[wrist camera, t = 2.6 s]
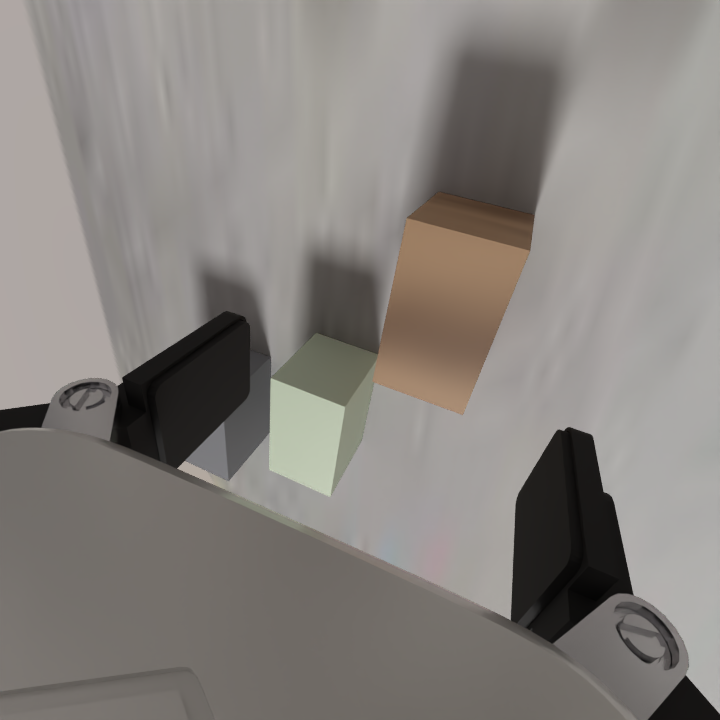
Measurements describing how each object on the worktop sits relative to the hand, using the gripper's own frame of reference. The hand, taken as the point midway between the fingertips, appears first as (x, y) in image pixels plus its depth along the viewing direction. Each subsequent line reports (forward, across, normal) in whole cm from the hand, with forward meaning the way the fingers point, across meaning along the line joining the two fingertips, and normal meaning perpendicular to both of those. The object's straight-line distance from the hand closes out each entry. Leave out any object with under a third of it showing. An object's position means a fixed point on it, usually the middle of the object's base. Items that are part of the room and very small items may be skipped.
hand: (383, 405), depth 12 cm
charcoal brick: (+10, +11, +11) cm, 19 cm away
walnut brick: (+9, -1, -1) cm, 9 cm away
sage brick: (+10, +4, +8) cm, 13 cm away
